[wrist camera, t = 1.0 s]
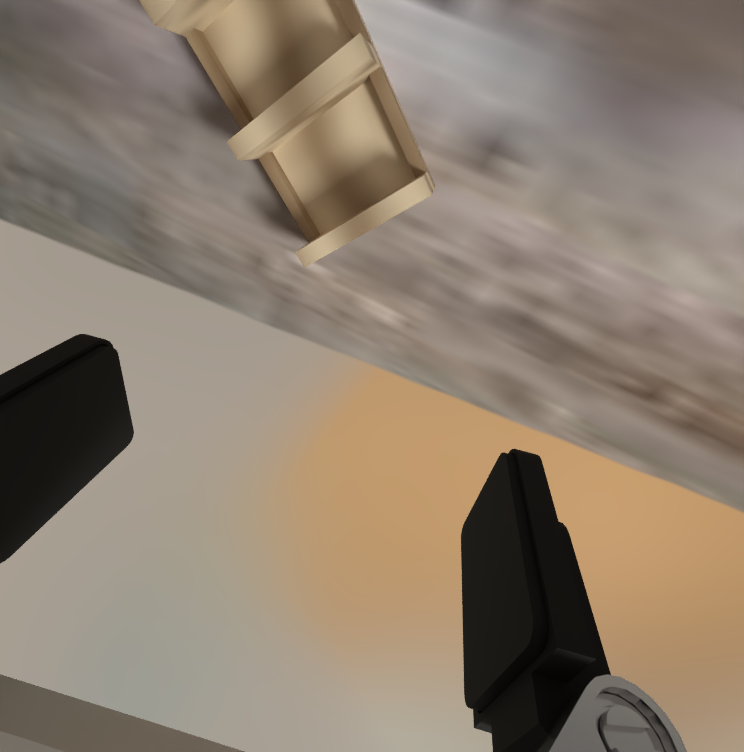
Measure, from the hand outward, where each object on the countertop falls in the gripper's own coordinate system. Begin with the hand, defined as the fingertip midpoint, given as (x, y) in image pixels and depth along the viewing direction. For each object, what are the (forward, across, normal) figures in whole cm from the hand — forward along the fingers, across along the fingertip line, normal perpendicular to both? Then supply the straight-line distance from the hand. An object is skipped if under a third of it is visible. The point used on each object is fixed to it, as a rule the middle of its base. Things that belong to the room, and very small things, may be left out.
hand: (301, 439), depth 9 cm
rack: (+25, +8, -7) cm, 27 cm away
